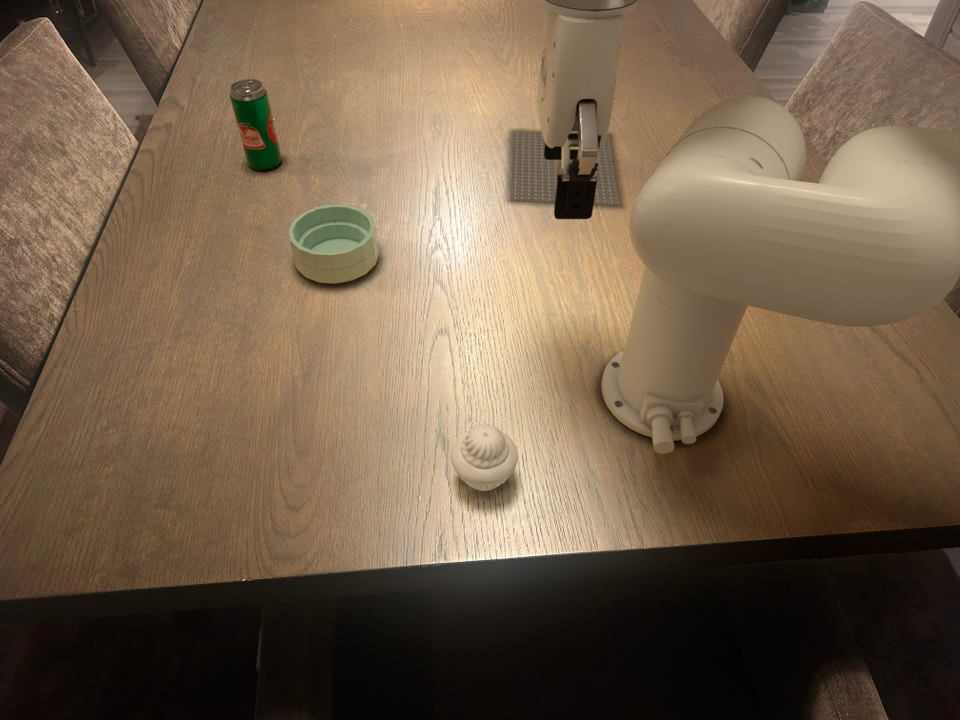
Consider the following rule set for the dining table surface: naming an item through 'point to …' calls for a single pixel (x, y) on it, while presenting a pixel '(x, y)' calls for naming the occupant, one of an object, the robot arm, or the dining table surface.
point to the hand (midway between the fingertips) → (566, 186)
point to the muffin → (484, 457)
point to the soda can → (255, 124)
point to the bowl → (334, 243)
